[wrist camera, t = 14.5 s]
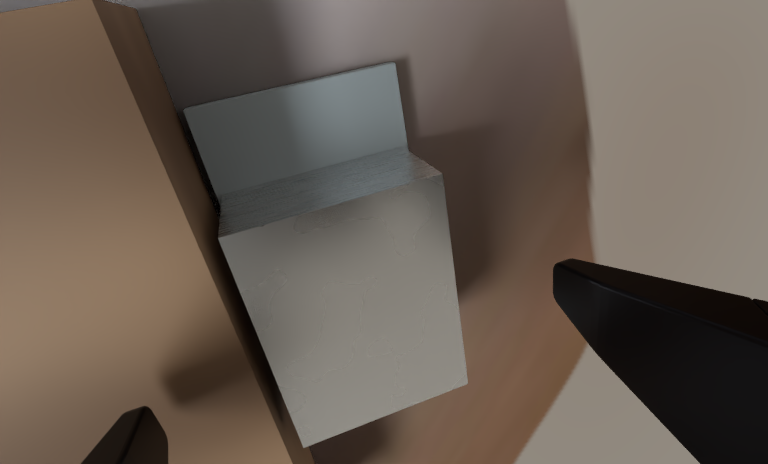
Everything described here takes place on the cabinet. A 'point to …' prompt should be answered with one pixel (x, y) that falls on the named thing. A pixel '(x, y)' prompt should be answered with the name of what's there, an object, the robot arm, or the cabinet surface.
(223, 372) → the body
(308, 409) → the grey block
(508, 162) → the cabinet surface
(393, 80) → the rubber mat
